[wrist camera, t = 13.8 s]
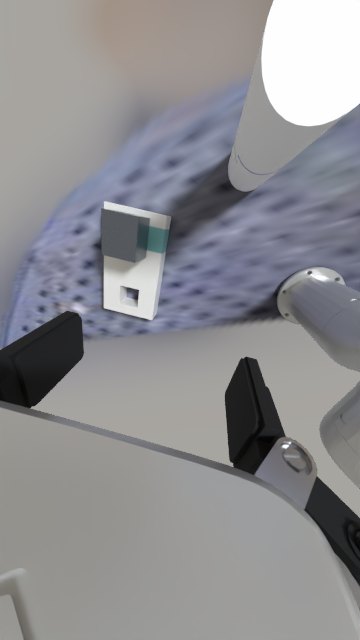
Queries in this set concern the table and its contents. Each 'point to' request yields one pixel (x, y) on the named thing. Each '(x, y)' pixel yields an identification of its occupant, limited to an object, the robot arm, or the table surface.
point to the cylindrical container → (296, 85)
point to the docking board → (137, 269)
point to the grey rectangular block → (124, 235)
